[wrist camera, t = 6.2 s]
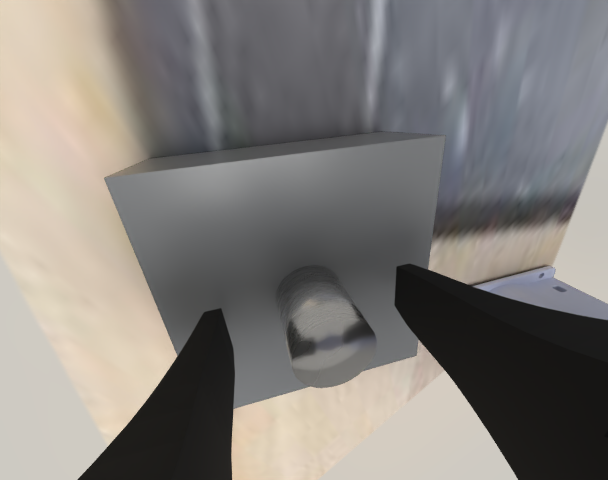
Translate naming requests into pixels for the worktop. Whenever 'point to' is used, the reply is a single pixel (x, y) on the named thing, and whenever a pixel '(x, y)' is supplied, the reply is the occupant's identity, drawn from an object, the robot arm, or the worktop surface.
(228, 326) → the cover
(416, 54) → the worktop surface
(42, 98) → the worktop surface
